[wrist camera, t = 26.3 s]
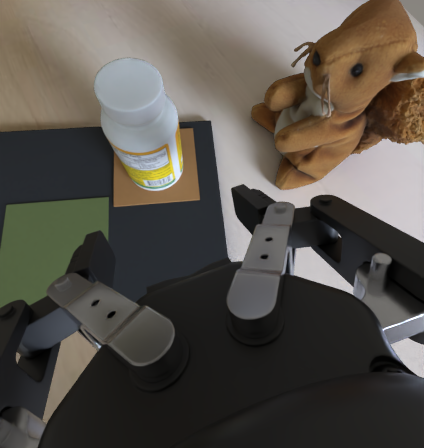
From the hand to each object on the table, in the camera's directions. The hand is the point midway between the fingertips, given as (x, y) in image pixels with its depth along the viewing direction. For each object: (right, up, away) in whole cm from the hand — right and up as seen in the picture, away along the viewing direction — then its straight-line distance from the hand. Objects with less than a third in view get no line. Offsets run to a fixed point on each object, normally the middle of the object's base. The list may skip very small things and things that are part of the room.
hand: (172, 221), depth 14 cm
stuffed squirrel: (+14, +8, +11) cm, 20 cm away
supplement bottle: (-3, +5, +9) cm, 11 cm away
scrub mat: (-8, +1, +8) cm, 11 cm away
